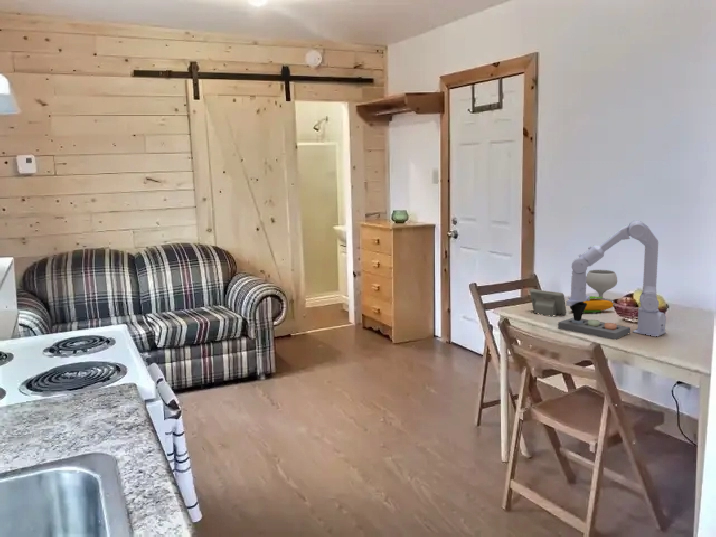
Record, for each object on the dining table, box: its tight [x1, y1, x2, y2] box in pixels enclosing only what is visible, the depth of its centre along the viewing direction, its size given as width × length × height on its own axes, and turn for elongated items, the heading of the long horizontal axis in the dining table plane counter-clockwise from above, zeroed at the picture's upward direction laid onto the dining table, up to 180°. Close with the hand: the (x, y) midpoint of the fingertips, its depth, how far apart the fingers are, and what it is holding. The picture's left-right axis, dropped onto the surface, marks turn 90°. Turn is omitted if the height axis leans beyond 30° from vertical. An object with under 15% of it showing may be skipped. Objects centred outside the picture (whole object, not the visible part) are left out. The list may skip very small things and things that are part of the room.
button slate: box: [572, 319, 583, 324], centre depth 253 cm, size 4×4×2 cm
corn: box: [569, 295, 614, 314], centre depth 278 cm, size 7×8×20 cm
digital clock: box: [529, 288, 567, 317], centre depth 277 cm, size 16×9×11 cm, turn 34°
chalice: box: [586, 269, 618, 302], centre depth 295 cm, size 14×14×15 cm
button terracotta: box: [604, 322, 618, 330], centre depth 242 cm, size 4×4×2 cm
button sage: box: [587, 319, 601, 327], centre depth 247 cm, size 4×4×2 cm
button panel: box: [557, 316, 631, 340], centre depth 247 cm, size 24×12×2 cm, turn 41°
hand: (577, 320), depth 252 cm, fingers closed, pressing on button slate
